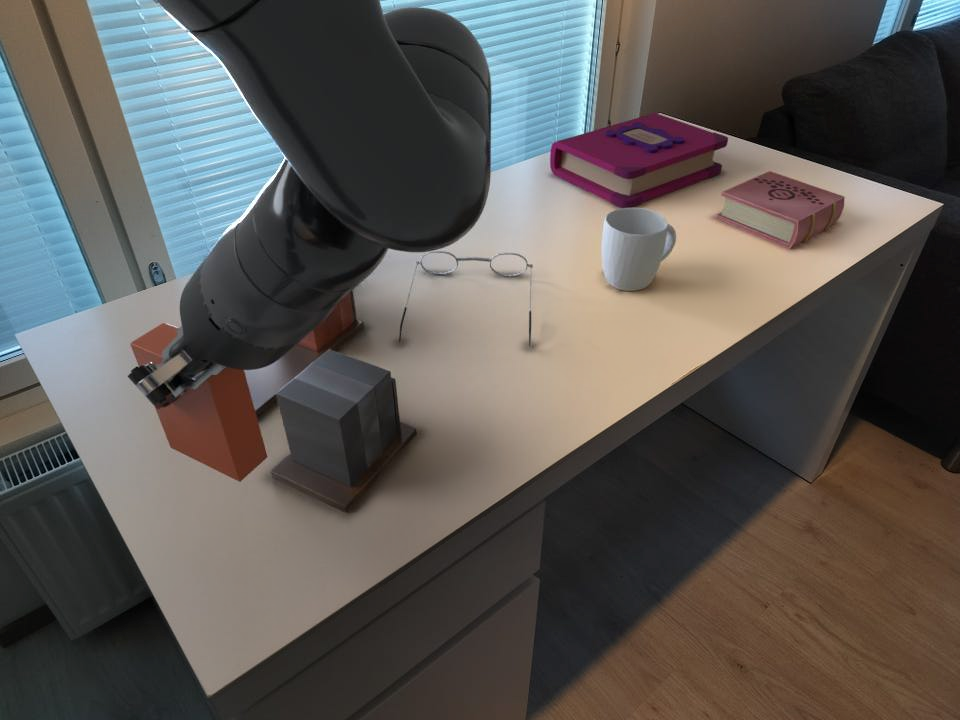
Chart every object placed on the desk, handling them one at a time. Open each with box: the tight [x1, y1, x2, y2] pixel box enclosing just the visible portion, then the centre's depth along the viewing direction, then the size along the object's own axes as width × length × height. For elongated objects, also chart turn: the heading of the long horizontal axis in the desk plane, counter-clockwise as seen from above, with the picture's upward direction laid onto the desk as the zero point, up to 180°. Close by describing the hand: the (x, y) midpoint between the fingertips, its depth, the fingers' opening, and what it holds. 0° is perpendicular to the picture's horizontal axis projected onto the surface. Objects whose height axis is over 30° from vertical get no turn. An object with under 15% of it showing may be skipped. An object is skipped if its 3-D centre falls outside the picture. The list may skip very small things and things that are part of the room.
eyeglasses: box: [398, 250, 534, 348], centre depth 98 cm, size 18×19×4 cm
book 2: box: [715, 170, 846, 250], centre depth 118 cm, size 14×15×5 cm
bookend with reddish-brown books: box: [244, 289, 365, 418], centre depth 85 cm, size 22×10×12 cm, turn 151°
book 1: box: [549, 112, 729, 209], centre depth 134 cm, size 21×28×8 cm
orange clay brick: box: [129, 322, 269, 483], centre depth 54 cm, size 3×8×11 cm, turn 61°
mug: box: [601, 207, 677, 292], centre depth 102 cm, size 13×9×10 cm
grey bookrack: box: [270, 349, 418, 514], centre depth 72 cm, size 13×10×10 cm
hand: (179, 380), depth 54 cm, fingers closed on orange clay brick, 3 cm apart
